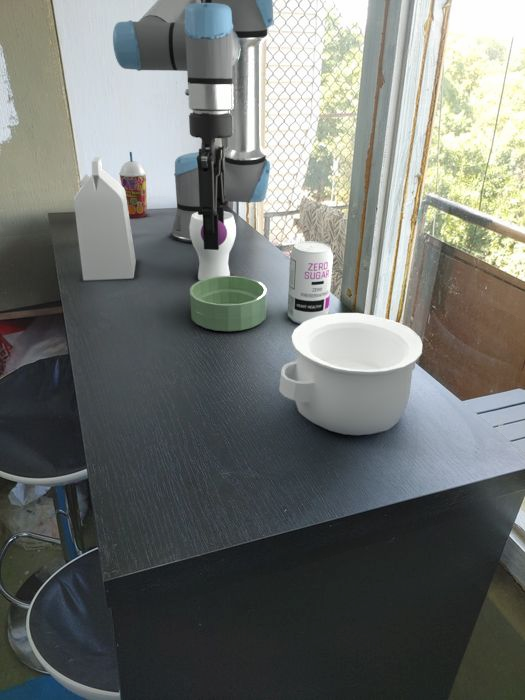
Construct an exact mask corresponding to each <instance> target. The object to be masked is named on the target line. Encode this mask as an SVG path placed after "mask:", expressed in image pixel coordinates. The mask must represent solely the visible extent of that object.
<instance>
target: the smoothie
mask: <svg viewBox="0 0 525 700" xmlns="http://www.w3.org/2000/svg"><path fill="white" fill-rule="evenodd" d="M119 179H120V184H121V185H122V186H123V188H124V189H125V193H126V199H127V206H128V212H129V218H135V219H137V218H143V217H145V216H146V213H147V212H148V203H147V172H146V170H145V168H144V167H143V166H142V164H141V163H139V162H137V161H134V160H133V152H132V151H129V161H127V162H125V163H123V165H122V166H121V169H120V172H119Z"/></svg>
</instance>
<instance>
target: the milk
mask: <svg viewBox="0 0 525 700" xmlns="http://www.w3.org/2000/svg"><path fill="white" fill-rule="evenodd" d="M102 162H103V161H102V157H98V156H97V157H96V156H95V157H94V158H93V159H92V161H91V174H90V176H89V175H88V174H85V175H84V176H83V177H82V178H81V180H80V182H79V183H78V185H79V186H81V187H80V188H79V189H78V191H77V192H76V194H75V195H74V197H73V198H74V200H73V206H74V214H75V223H76V224H75V225H76V230H77V239H78V247H79V256H80V265H81V272H82V274H81V275H82V281H105V280H124V279H125V280H128V279H134V277H135V271H136V263H137V260H136V253H135V247H134V241H133V233H132V227H131V220H130V217H129V212H128V206H127V199H126V193H125V189H124V188H123V186H122V185H121V182H119V181H118V180H117V179H115V178H114V177H112V175H111V174H109V173H108V172H107V171H105V169H103V163H102Z"/></svg>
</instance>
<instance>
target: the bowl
mask: <svg viewBox="0 0 525 700" xmlns="http://www.w3.org/2000/svg"><path fill="white" fill-rule="evenodd" d="M188 291H189V306H190V307H189V308H190V318H191V320H192V321H193V322H194V323H195V324H196V325H198V326H200V327H202V328H204V329H208V330H213V331H219V332H237V331H244V330H248V329H252V328H254V327H257V326H258V325H260V324H262V323H263V322H264V321H265V320H266V317H267V308H268V307H267V306H268V305H267V303H268V289H267V287H266V285H265V284H263V282H261V281H259V280H256V279H253V278H251V277H245V276H239V275H230V276H217V277H211V278H206V279H203V280H201V281H200V280H198V281H196V282H195V283H193V284H192V285H191V286H190V288H189V290H188Z"/></svg>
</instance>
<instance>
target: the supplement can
mask: <svg viewBox="0 0 525 700" xmlns="http://www.w3.org/2000/svg"><path fill="white" fill-rule="evenodd" d="M333 261H334V254H333V251H332V247H331V245H329V244H327V243H325V242H321V241H315V240H304V241H298V242H296V243H295V244H294V245H293V248H292V250H291V251H290V254H289V273H288V275H289V276H288V292H287V293H288V294H287V295H288V298H287V316H288V317H289V318H290V320H291V321H292V322H293V323H297V324H300V325H301V324H302V323H303V322H305V321H307V320H310V319H312V318H315V317H317V316H321V315H328V314H329V309H330V298H331V285H332V276H333V263H334V262H333Z"/></svg>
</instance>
